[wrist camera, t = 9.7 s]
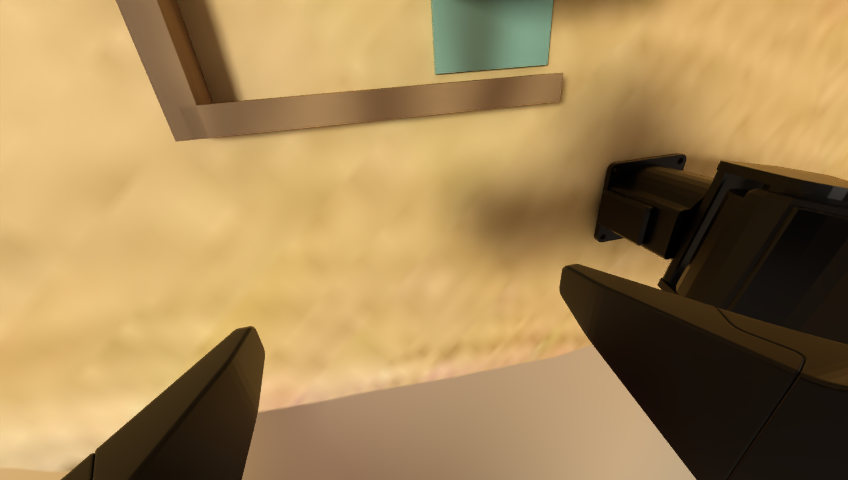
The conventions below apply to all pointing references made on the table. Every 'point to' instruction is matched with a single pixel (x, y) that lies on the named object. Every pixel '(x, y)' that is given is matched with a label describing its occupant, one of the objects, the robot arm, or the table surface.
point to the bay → (453, 52)
